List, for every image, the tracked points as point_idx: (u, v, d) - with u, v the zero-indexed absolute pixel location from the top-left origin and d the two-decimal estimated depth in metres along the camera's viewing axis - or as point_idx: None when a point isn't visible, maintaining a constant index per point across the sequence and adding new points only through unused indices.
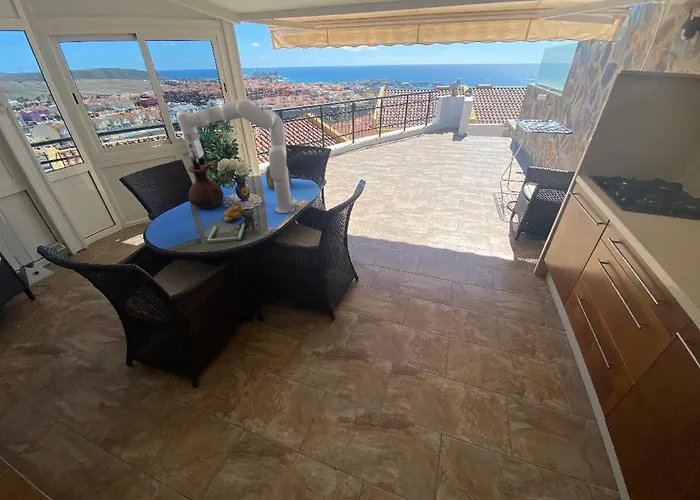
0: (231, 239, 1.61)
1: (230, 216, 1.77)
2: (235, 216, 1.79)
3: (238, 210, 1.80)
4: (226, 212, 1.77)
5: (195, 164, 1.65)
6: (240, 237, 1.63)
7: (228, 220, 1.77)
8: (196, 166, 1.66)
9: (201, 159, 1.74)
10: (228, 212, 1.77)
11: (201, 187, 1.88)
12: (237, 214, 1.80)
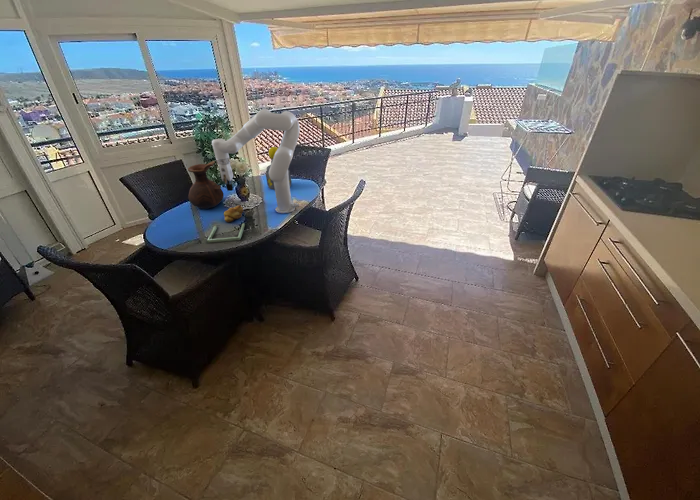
0: (231, 239, 1.61)
1: (230, 216, 1.77)
2: (235, 216, 1.79)
3: (238, 210, 1.80)
4: (226, 212, 1.77)
5: (228, 186, 1.81)
6: (240, 237, 1.63)
7: (228, 220, 1.77)
8: (229, 187, 1.82)
9: None
10: (228, 212, 1.77)
11: (201, 187, 1.88)
12: (237, 214, 1.80)
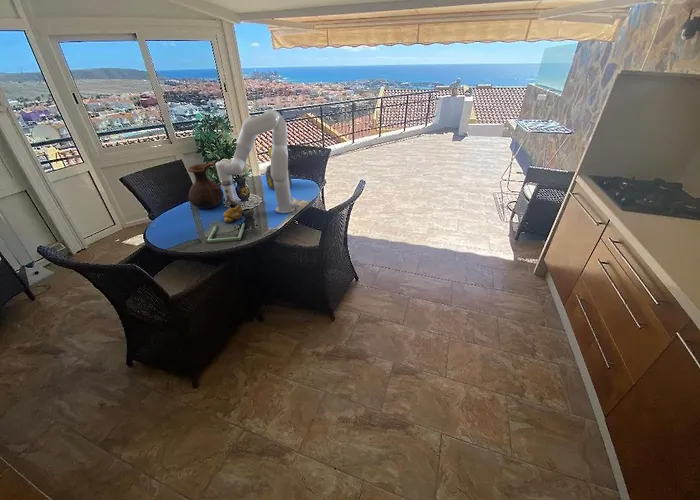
0: (231, 239, 1.61)
1: (230, 217, 1.77)
2: (234, 217, 1.78)
3: (238, 211, 1.80)
4: (226, 213, 1.77)
5: (232, 206, 1.84)
6: (240, 237, 1.63)
7: (228, 221, 1.76)
8: (232, 207, 1.85)
9: None
10: (228, 213, 1.76)
11: (201, 187, 1.88)
12: (237, 215, 1.79)
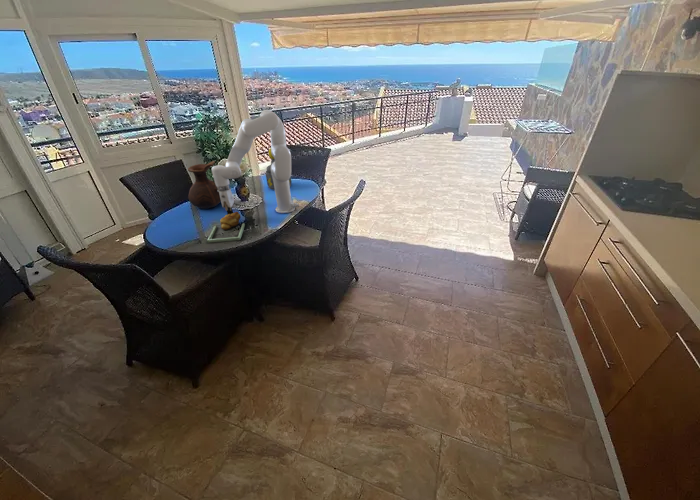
0: (231, 239, 1.61)
1: (227, 223, 1.69)
2: (232, 223, 1.71)
3: (235, 217, 1.72)
4: (223, 219, 1.70)
5: (229, 211, 1.77)
6: (240, 237, 1.63)
7: (225, 228, 1.69)
8: (229, 213, 1.78)
9: None
10: (225, 219, 1.69)
11: (201, 187, 1.88)
12: (234, 221, 1.72)
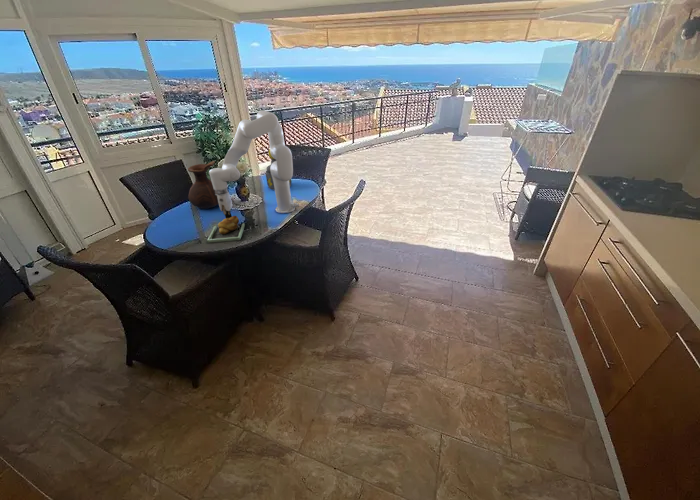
0: (231, 239, 1.61)
1: (225, 228, 1.65)
2: (230, 228, 1.66)
3: (233, 221, 1.68)
4: (221, 223, 1.65)
5: (227, 215, 1.73)
6: (240, 237, 1.63)
7: (223, 232, 1.65)
8: (228, 217, 1.73)
9: None
10: (223, 223, 1.65)
11: (201, 187, 1.88)
12: (232, 225, 1.68)
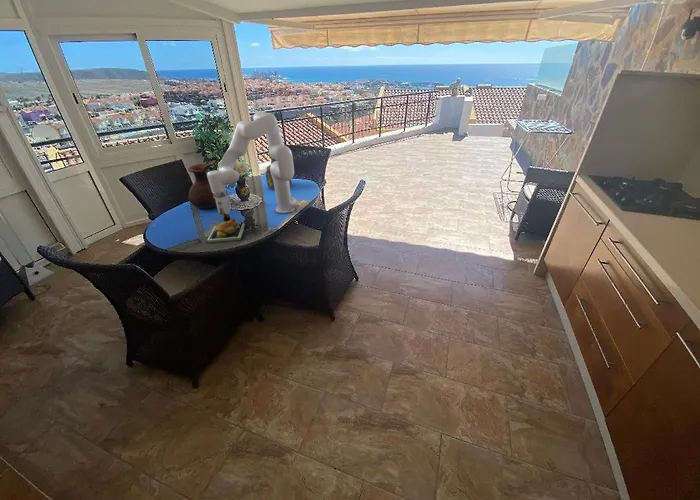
0: (231, 239, 1.61)
1: (223, 231, 1.62)
2: (228, 231, 1.63)
3: (232, 224, 1.65)
4: (219, 227, 1.62)
5: (226, 219, 1.69)
6: (240, 237, 1.63)
7: (221, 236, 1.61)
8: (226, 220, 1.70)
9: None
10: (221, 227, 1.61)
11: (201, 187, 1.88)
12: (231, 229, 1.64)
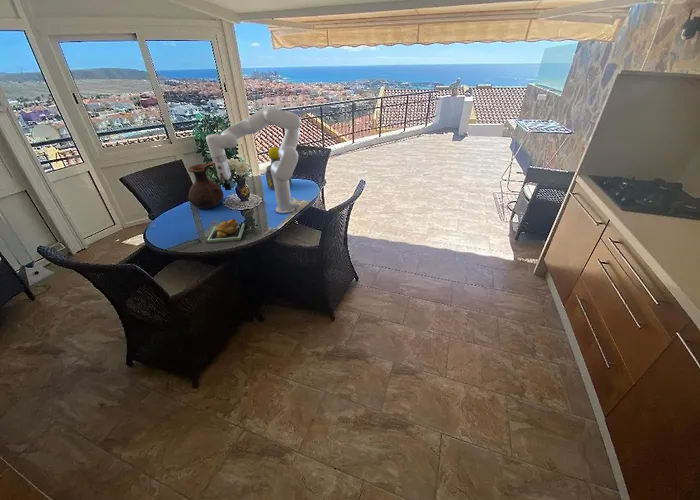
0: (231, 239, 1.61)
1: (223, 231, 1.62)
2: (228, 231, 1.63)
3: (232, 224, 1.65)
4: (219, 227, 1.62)
5: (226, 185, 1.68)
6: (240, 237, 1.63)
7: (221, 236, 1.61)
8: (227, 187, 1.69)
9: None
10: (221, 227, 1.61)
11: (201, 187, 1.88)
12: (231, 229, 1.64)
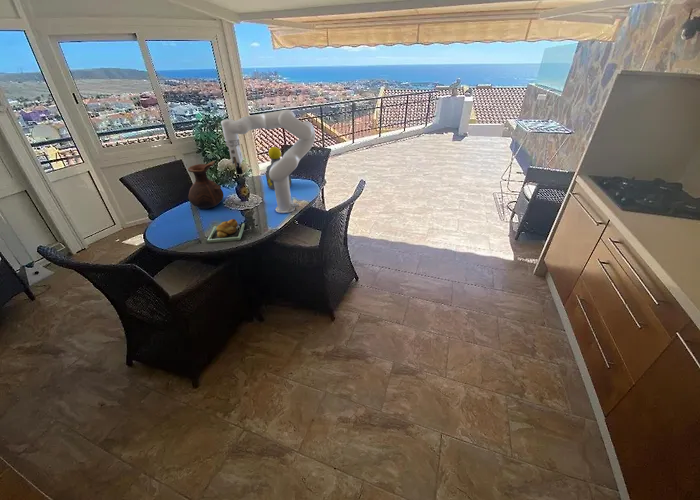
0: (231, 239, 1.61)
1: (223, 231, 1.62)
2: (228, 231, 1.63)
3: (232, 224, 1.65)
4: (219, 227, 1.62)
5: (238, 169, 1.76)
6: (240, 237, 1.63)
7: (221, 236, 1.61)
8: (239, 171, 1.76)
9: None
10: (221, 227, 1.61)
11: (201, 187, 1.88)
12: (231, 229, 1.64)
